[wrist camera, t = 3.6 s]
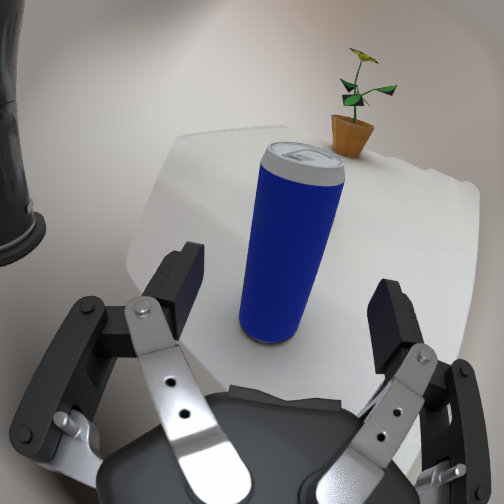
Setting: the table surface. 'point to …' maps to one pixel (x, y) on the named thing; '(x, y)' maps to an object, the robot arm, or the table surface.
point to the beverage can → (288, 236)
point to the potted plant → (353, 119)
